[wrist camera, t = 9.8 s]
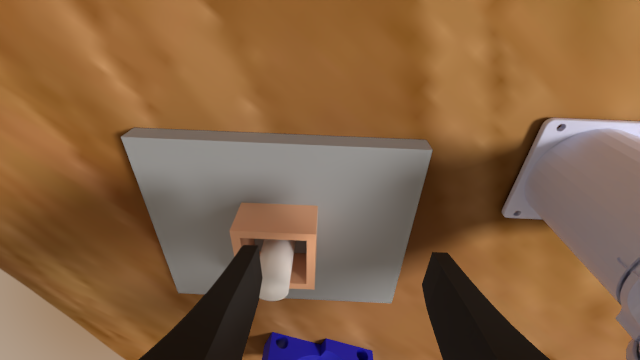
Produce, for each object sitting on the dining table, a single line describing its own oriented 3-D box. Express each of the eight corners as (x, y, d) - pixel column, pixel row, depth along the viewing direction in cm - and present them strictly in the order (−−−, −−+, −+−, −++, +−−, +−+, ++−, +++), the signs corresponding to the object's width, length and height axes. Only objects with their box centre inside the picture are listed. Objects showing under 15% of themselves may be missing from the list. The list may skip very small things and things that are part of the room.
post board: (426, 139, 20) (461, 196, 15) (388, 289, 29) (402, 359, 23) (133, 127, 20) (61, 179, 15) (184, 279, 29) (151, 347, 24)
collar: (317, 205, 22) (315, 234, 19) (316, 258, 25) (314, 289, 22) (241, 202, 22) (229, 230, 19) (249, 255, 25) (239, 286, 22)
